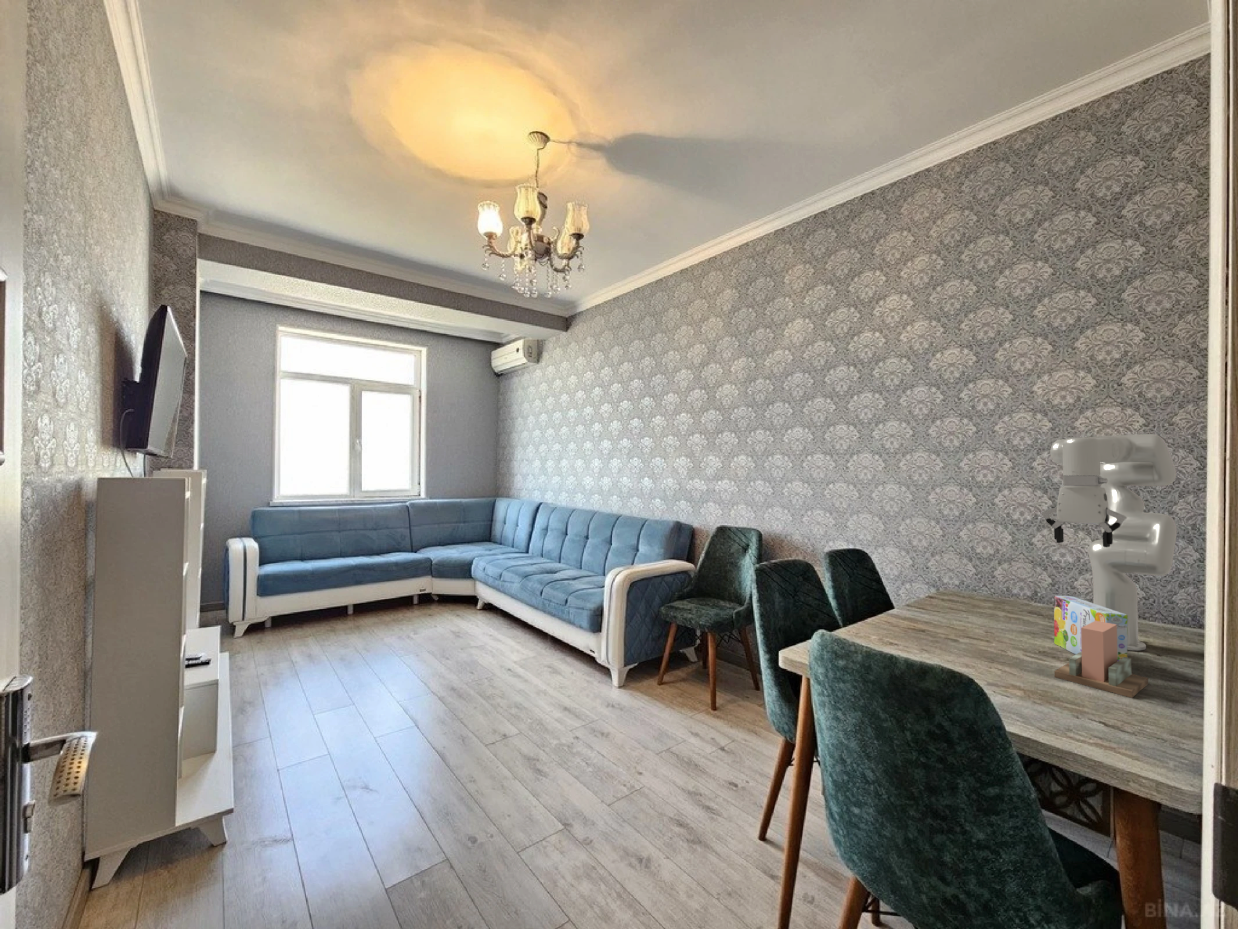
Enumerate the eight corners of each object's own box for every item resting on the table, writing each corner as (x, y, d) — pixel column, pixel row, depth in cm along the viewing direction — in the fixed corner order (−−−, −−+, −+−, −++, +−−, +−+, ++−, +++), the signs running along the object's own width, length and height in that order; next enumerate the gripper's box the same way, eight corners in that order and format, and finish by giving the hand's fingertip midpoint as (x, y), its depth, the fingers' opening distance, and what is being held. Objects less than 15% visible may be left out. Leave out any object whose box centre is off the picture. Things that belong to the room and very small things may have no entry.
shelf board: (1073, 665, 134) (1073, 645, 134) (1148, 684, 122) (1147, 661, 122) (1054, 677, 126) (1054, 655, 126) (1131, 697, 114) (1131, 673, 115)
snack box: (1130, 672, 129) (1129, 614, 130) (1105, 670, 130) (1104, 613, 131) (1073, 645, 150) (1072, 595, 150) (1052, 643, 151) (1051, 594, 152)
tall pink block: (1096, 667, 129) (1095, 620, 129) (1117, 672, 126) (1116, 624, 126) (1082, 676, 123) (1081, 627, 123) (1103, 682, 120) (1103, 632, 120)
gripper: (1129, 482, 131) (1130, 547, 131) (1046, 481, 146) (1047, 540, 146) (1121, 483, 127) (1122, 549, 127) (1036, 482, 142) (1037, 542, 142)
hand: (1082, 544), depth 136 cm, fingers open, 9 cm apart
